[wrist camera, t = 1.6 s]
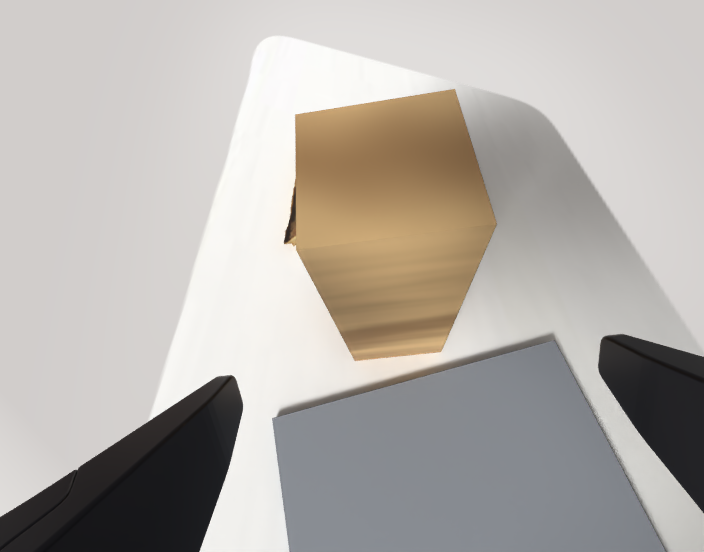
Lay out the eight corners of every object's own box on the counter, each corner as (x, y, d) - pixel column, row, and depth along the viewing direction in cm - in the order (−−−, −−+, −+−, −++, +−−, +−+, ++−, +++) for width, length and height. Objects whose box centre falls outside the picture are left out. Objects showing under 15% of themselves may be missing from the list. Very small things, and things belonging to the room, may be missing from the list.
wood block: (441, 351, 20) (496, 223, 9) (354, 360, 21) (296, 250, 9) (426, 274, 22) (454, 88, 11) (348, 283, 23) (295, 114, 11)
